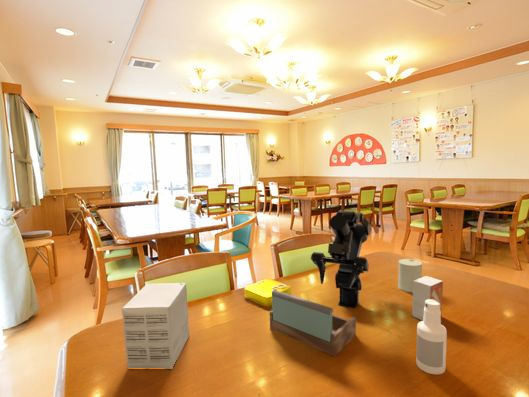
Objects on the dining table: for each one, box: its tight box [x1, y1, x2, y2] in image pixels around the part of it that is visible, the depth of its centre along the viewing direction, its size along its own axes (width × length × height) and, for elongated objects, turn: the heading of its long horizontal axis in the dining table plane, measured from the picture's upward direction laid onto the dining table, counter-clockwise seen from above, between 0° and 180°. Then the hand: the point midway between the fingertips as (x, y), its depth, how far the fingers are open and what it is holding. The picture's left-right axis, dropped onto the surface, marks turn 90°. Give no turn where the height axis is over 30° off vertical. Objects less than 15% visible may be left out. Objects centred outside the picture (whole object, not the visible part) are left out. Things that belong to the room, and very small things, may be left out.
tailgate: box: [271, 290, 334, 342], centre depth 96 cm, size 2×21×10 cm, turn 49°
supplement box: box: [121, 282, 190, 370], centre depth 92 cm, size 17×13×18 cm
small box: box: [411, 275, 444, 321], centre depth 108 cm, size 8×6×13 cm
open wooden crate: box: [269, 309, 357, 357], centre depth 101 cm, size 14×24×6 cm, turn 49°
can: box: [397, 258, 423, 294], centre depth 132 cm, size 9×9×12 cm
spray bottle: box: [415, 299, 448, 376], centre depth 82 cm, size 7×7×18 cm
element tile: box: [243, 278, 292, 308], centre depth 129 cm, size 15×15×5 cm
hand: (335, 285), depth 103 cm, fingers open, 9 cm apart
